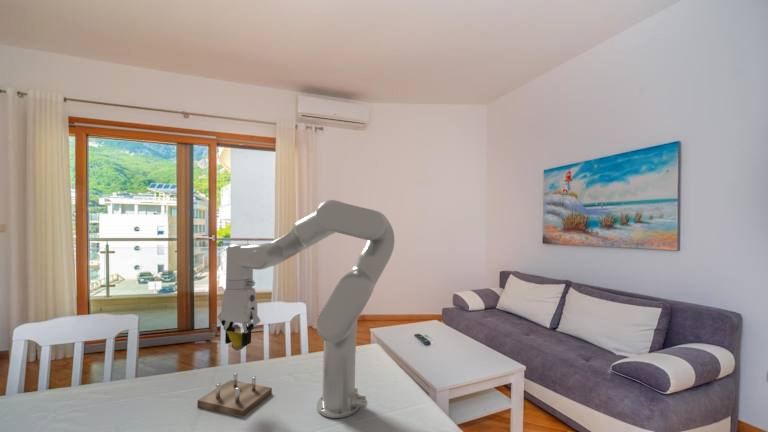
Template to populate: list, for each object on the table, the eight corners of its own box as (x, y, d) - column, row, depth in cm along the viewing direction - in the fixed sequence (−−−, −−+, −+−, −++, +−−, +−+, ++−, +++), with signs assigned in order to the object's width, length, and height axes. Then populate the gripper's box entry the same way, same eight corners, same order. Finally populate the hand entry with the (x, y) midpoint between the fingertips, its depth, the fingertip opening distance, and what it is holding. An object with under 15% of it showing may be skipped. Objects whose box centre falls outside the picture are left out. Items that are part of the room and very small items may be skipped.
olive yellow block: (253, 350, 99) (233, 335, 93) (238, 357, 99) (217, 342, 93) (255, 335, 103) (235, 319, 97) (240, 341, 103) (219, 327, 97)
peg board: (271, 393, 102) (272, 375, 102) (242, 417, 89) (243, 396, 89) (230, 385, 106) (231, 367, 107) (197, 406, 94) (198, 386, 94)
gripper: (270, 283, 100) (269, 342, 99) (226, 280, 105) (224, 336, 104) (254, 288, 93) (253, 351, 92) (207, 284, 98) (205, 344, 97)
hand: (238, 342), depth 98 cm, fingers closed on olive yellow block, 5 cm apart
